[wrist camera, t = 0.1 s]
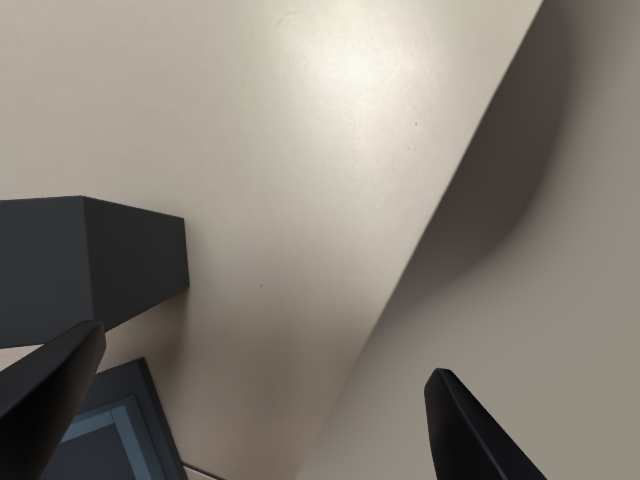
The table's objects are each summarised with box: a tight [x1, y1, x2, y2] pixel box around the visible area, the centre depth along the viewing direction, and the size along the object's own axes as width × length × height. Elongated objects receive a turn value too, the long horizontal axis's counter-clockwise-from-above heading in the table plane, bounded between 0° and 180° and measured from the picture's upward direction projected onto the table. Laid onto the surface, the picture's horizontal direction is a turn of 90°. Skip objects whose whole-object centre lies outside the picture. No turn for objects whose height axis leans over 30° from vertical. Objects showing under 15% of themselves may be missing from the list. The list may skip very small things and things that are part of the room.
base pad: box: [39, 358, 187, 480], centre depth 21 cm, size 11×9×2 cm
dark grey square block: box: [0, 195, 189, 349], centre depth 17 cm, size 4×4×12 cm
